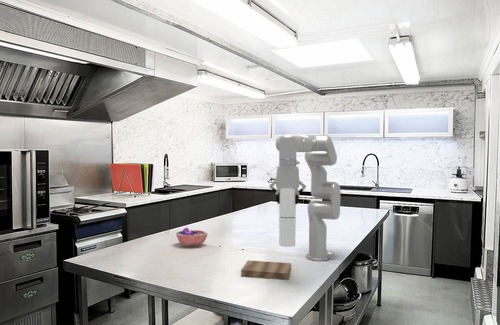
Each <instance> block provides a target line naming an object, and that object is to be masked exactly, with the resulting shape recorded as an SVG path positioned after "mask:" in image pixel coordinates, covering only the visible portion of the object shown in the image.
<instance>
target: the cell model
mask: <svg viewBox="0 0 500 325" xmlns="http://www.w3.org/2000/svg"><path fill="white" fill-rule="evenodd" d="M175 235H176V238H177V241H178V242H179V243H180V244H181V245H183V246H184V247H199V246H201V245H202V244H203V243H205V241H206V239H207V238H208V235H209V234H208V232H206V231H204V230H201V229H200V230H198V229H194V230H192V229H191V230H190V229H189V228H188V227H185V228H183V229H182V230H180V231H177V232H175Z"/></svg>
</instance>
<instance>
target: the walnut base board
mask: <svg viewBox="0 0 500 325" xmlns="http://www.w3.org/2000/svg"><path fill="white" fill-rule="evenodd" d="M291 270H292V263H291V262H281V261H280V262H279V261H264V260H246V262H245V263H244V265H243V267H242V268H241V269H240V277H241V278H243V277H244V278H255V279H256V278H257V279H258V278H259V279H271V280H287V281H288V280H290V275H291Z"/></svg>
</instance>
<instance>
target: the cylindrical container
mask: <svg viewBox="0 0 500 325" xmlns="http://www.w3.org/2000/svg"><path fill="white" fill-rule="evenodd" d="M295 196H296V192H295V189H280V191H279V204H278V206H279V209H278V210H279V211H278V213H279V214H278V215H279V216H278V217H279V218H278V220H279V222H278V229H279V231H278V234H279V235H278V239H279V240H278V246H280V247H284V248H285V247H286V248H292V247H293V248H294V247H295V246H296V226H297V225H296V221H297V220H296V218H297V216H296V215H297V214H296V212H297V211H296V205H297V204H295Z"/></svg>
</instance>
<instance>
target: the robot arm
mask: <svg viewBox="0 0 500 325" xmlns="http://www.w3.org/2000/svg"><path fill="white" fill-rule="evenodd" d="M275 148H276V150H277V151H278V155H279V156H278V162H279V163H278V166H277V168H276V176H275V177H276V178H275V180H274V181H273V182H271V183H270V184H269V188H270V189H271V191H272V192H273V193H274V194H275V195H276V196H275V202H277V205H279V191H280V189H295V192H296V196H295V204H296V205H298V203H300V195H301V193H303V191H304V190H305V189H306V188H307V185H306V184H305V183H303V182H302V181H301V180H300V170H299V167H298V166H297V165H300V164H301V163H300V160H297V153H304V160H305V162H306V164H307V166H308V168H309V170H310V174H311V175H310V176H311V178H310V181H311V182H310V194H311V197H312V198H315V199H320V200H313V201H310V202H309V203H308V205H307V215H308V253H306V254H305V258H306V259H308V260H310V261H314V262H315V261H316V262H318V261H319V262H325V261H328V260H329V259H330V257H335V256H336V252H333V251H328V249H327V232H328V230H327V224H326V222H325V221H324V220H338V219H339V218H340V214H341V186H340V184H339V183H338V182H335V181H328V172H327V170H326V168H325V167H326V166H329V167H331V166H335V165H336V164H337V161H338V156H337V151H336V149H335V145H334V141H333V140H332V138H331V136H330V135H327V134H323V135H322V134H321V135H320V134H319V135H318V134H316V135H315V134H313V135H311V134H301V135H290V134H289V135H288V134H287V135H285V134H284V135H280V136H278V137H277V139H276V141H275ZM324 166H325V167H324ZM300 186H301V188H300ZM299 188H300V189H299ZM321 199H323V200H321ZM324 200H330V201H324Z"/></svg>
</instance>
